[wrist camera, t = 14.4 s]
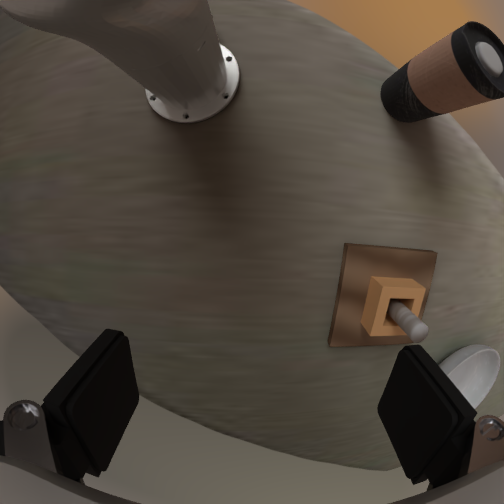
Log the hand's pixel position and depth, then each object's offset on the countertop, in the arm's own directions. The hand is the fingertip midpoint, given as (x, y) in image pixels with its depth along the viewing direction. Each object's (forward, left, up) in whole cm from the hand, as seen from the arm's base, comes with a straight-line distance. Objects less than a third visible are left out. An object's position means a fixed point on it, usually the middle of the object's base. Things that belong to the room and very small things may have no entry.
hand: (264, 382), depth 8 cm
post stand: (+8, +19, -28) cm, 35 cm away
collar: (+8, +19, -27) cm, 34 cm away
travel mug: (-21, +19, -28) cm, 40 cm away
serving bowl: (+26, +41, -29) cm, 56 cm away
